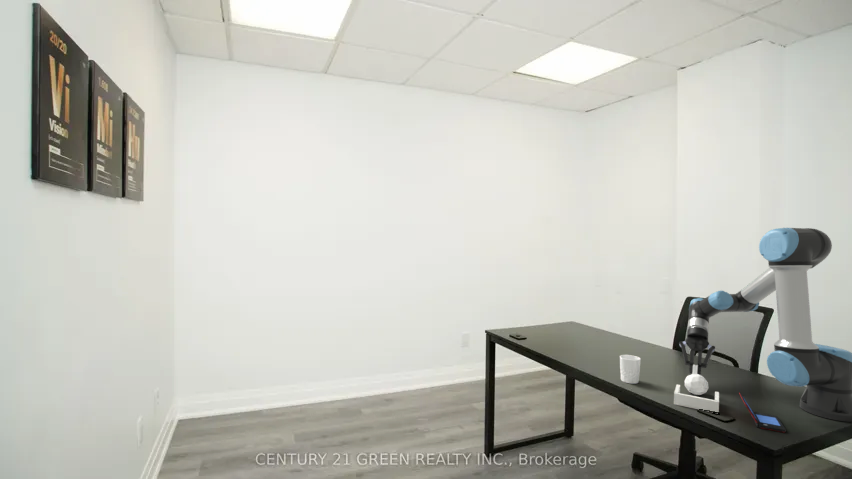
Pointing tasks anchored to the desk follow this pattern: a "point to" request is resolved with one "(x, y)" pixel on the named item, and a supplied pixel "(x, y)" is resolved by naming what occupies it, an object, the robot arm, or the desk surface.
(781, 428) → the handheld game console
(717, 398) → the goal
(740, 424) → the desk surface
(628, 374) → the white cup
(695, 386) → the geometric ball
